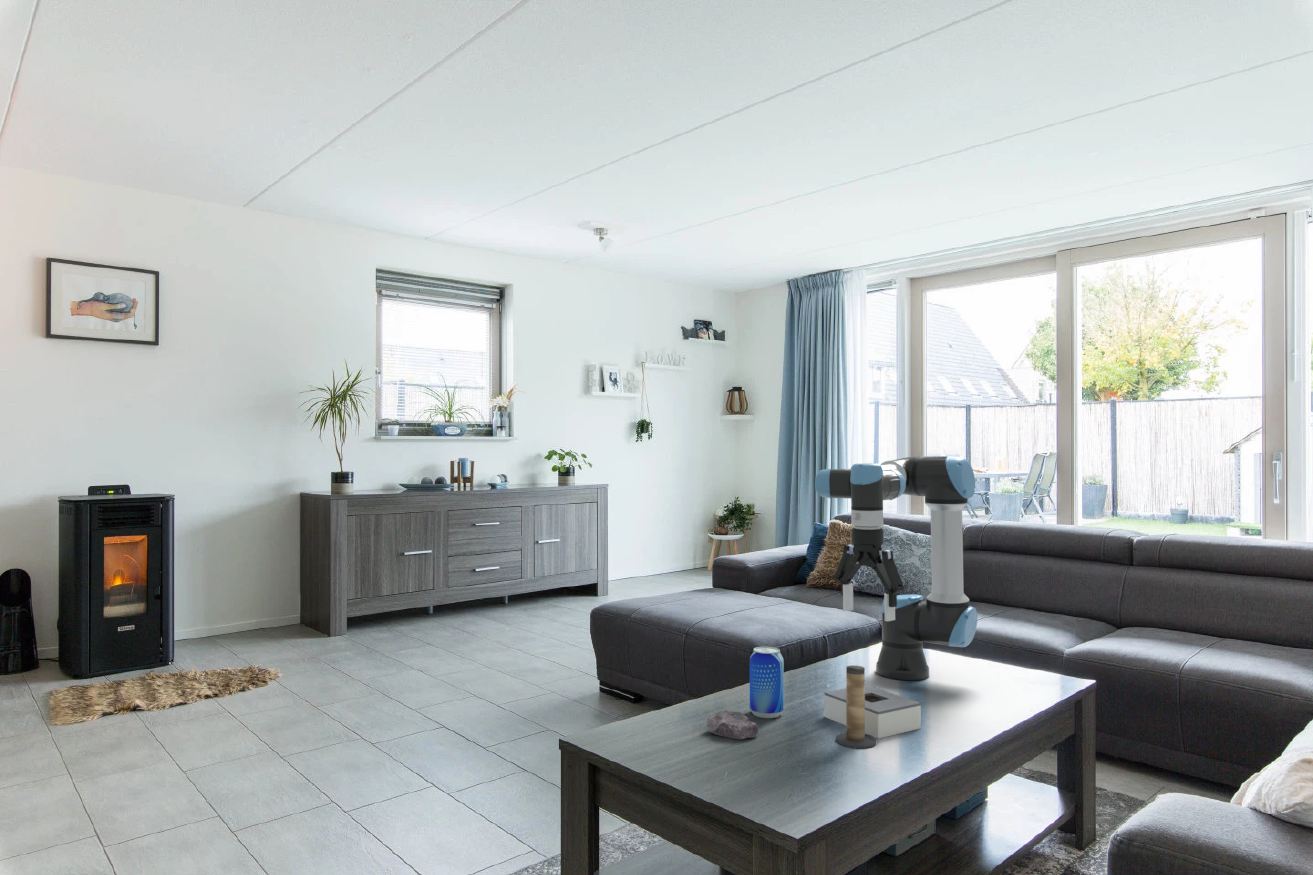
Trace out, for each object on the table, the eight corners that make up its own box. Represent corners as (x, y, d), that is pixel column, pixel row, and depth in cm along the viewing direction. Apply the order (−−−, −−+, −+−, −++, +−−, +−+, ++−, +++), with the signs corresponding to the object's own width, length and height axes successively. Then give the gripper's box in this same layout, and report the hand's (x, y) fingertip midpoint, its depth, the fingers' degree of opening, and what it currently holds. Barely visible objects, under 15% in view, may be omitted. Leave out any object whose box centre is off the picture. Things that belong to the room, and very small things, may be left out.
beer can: (787, 711, 208) (787, 647, 208) (777, 720, 200) (778, 654, 200) (755, 706, 211) (755, 644, 212) (745, 716, 204) (745, 651, 204)
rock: (746, 744, 184) (747, 723, 184) (702, 734, 190) (702, 714, 191) (762, 734, 191) (763, 714, 191) (719, 725, 197) (719, 706, 197)
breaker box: (824, 716, 204) (824, 692, 204) (865, 708, 211) (865, 684, 211) (878, 738, 188) (878, 711, 188) (920, 728, 195) (920, 702, 195)
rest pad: (827, 738, 187) (827, 736, 187) (856, 732, 192) (856, 729, 192) (855, 751, 180) (855, 748, 180) (885, 744, 184) (885, 741, 184)
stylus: (842, 737, 187) (842, 666, 187) (855, 734, 189) (855, 664, 189) (855, 742, 183) (855, 670, 184) (868, 739, 185) (868, 668, 186)
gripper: (820, 524, 207) (821, 608, 207) (896, 533, 186) (897, 627, 186) (841, 522, 211) (843, 604, 211) (918, 530, 190) (920, 622, 190)
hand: (868, 615), depth 198 cm, fingers open, 13 cm apart
